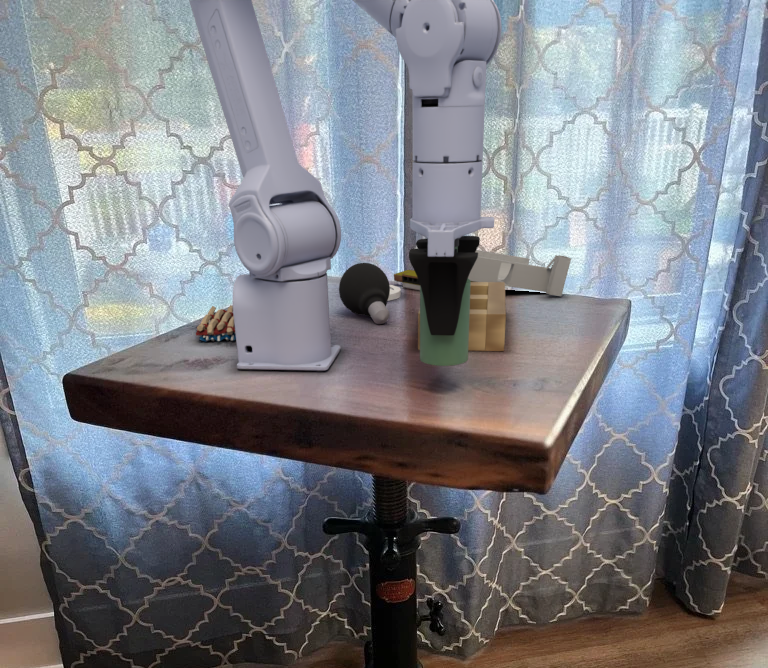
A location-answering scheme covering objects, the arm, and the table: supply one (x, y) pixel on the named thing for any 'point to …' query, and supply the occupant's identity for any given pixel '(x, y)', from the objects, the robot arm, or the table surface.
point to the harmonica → (408, 279)
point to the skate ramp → (520, 272)
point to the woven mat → (217, 325)
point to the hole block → (485, 317)
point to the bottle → (446, 346)
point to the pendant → (394, 293)
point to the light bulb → (366, 291)
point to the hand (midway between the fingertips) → (444, 327)
